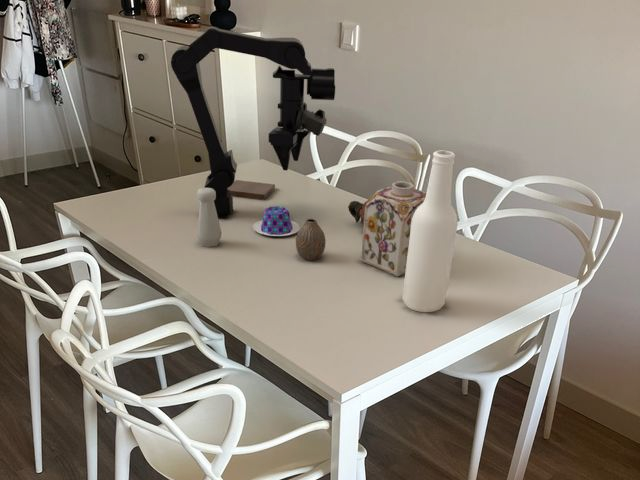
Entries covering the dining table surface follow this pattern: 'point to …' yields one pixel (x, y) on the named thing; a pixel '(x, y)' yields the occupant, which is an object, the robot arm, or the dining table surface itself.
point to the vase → (310, 240)
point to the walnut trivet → (251, 189)
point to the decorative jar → (390, 226)
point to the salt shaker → (208, 218)
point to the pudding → (276, 223)
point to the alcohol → (432, 240)
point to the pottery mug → (357, 210)
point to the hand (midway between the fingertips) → (290, 165)
